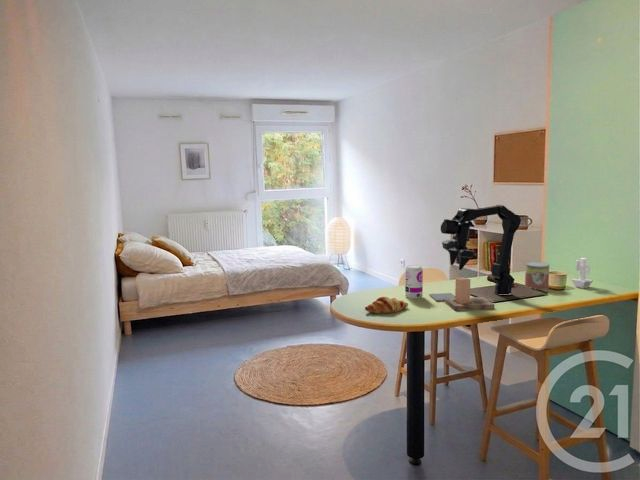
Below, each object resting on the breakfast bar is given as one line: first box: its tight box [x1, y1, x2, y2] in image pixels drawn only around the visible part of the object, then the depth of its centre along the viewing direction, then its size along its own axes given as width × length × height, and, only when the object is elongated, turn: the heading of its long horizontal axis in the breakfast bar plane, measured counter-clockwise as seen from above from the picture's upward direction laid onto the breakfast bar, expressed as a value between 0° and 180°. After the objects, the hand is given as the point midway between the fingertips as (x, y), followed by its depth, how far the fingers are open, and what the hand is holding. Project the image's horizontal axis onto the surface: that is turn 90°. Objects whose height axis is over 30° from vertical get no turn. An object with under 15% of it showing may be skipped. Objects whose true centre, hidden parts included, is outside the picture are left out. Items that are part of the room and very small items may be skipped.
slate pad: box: [428, 292, 455, 302], centre depth 236 cm, size 11×11×1 cm
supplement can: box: [404, 264, 424, 300], centre depth 238 cm, size 8×8×15 cm
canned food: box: [524, 261, 550, 291], centre depth 252 cm, size 11×11×12 cm
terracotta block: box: [454, 277, 471, 304], centre depth 221 cm, size 4×4×12 cm
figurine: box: [570, 257, 594, 289], centre depth 250 cm, size 7×9×15 cm
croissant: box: [364, 296, 409, 315], centre depth 217 cm, size 21×10×8 cm, turn 112°
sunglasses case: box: [486, 273, 518, 286], centre depth 263 cm, size 18×7×7 cm
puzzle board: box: [444, 296, 495, 311], centre depth 222 cm, size 18×12×2 cm
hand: (455, 267), depth 233 cm, fingers open, 9 cm apart
